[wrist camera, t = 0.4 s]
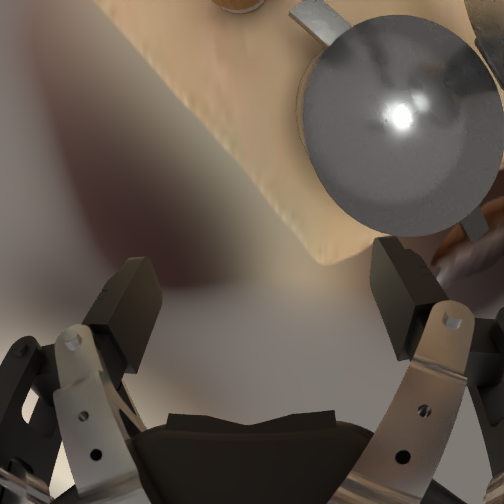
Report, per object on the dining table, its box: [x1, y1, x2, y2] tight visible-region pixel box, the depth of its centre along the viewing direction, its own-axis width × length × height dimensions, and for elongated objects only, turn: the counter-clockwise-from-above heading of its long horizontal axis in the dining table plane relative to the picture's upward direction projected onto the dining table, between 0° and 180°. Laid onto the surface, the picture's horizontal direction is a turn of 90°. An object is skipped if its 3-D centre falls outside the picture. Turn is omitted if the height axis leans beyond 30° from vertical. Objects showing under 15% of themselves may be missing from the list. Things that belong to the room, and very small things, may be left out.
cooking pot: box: [289, 0, 504, 245], centre depth 28 cm, size 31×22×12 cm
